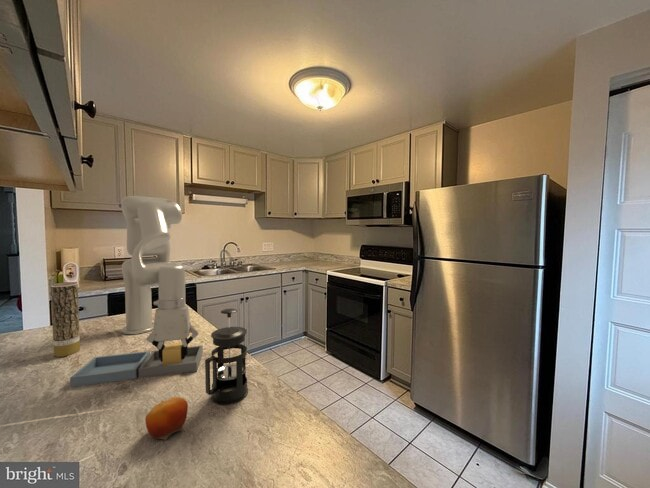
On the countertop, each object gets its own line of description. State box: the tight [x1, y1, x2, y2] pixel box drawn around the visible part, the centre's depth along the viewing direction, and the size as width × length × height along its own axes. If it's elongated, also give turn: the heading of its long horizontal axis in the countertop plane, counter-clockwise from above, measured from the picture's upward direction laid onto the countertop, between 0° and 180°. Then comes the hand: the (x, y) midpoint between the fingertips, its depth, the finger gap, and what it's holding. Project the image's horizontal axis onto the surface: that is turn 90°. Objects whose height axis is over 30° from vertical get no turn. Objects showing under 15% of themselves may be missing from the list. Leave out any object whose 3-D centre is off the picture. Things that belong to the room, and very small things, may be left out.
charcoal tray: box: [138, 345, 203, 379], centre depth 89 cm, size 13×16×3 cm
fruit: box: [145, 396, 189, 441], centre depth 60 cm, size 8×8×8 cm
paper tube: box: [50, 281, 81, 358], centre depth 97 cm, size 7×7×25 cm
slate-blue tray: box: [69, 350, 151, 388], centre depth 84 cm, size 13×16×3 cm
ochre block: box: [162, 342, 183, 365], centre depth 89 cm, size 5×5×5 cm
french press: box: [204, 308, 249, 406], centre depth 73 cm, size 12×9×23 cm
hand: (173, 357), depth 89 cm, fingers open, 5 cm apart
